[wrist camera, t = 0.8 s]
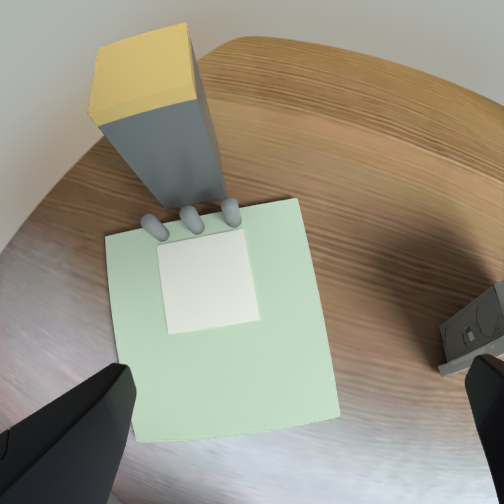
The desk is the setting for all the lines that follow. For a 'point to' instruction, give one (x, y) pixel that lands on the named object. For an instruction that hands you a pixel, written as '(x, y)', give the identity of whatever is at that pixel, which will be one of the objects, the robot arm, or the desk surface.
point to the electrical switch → (474, 331)
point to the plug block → (159, 115)
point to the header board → (221, 323)
